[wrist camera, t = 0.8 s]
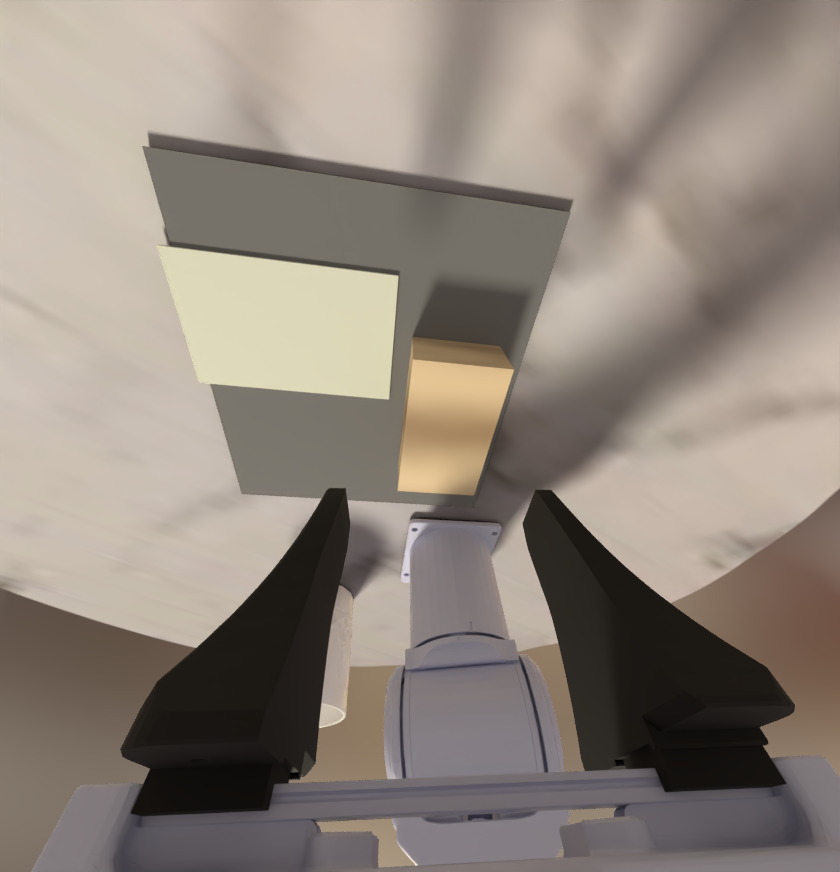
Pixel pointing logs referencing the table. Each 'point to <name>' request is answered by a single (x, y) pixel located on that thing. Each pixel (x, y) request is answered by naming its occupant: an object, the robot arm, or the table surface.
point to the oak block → (450, 414)
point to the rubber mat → (337, 309)
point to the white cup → (337, 661)
